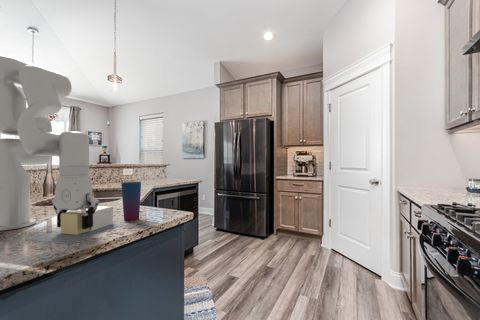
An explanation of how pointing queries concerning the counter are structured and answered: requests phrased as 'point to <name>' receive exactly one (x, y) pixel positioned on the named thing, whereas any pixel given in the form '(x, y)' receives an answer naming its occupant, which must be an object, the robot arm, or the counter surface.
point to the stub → (72, 223)
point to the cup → (131, 200)
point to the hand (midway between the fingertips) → (75, 227)
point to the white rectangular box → (102, 217)
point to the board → (71, 235)
